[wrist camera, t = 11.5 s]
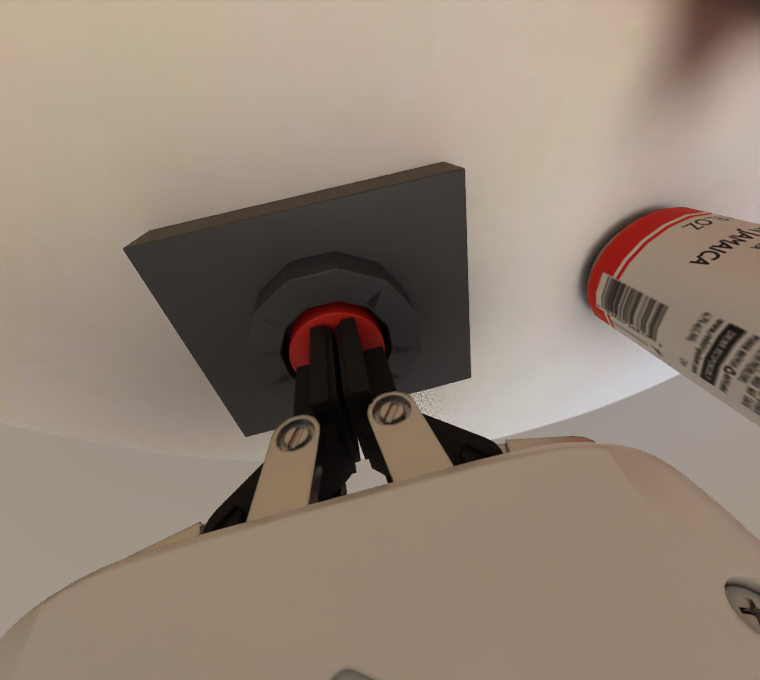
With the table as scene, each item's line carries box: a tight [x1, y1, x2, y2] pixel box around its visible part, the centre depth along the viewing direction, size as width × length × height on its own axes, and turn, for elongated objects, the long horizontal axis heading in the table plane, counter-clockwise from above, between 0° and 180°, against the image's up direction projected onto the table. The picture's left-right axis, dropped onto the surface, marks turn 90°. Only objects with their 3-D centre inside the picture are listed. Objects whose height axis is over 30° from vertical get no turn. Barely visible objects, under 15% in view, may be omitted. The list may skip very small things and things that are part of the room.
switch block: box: [123, 162, 471, 437], centre depth 14 cm, size 12×10×4 cm
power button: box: [289, 301, 385, 372], centre depth 13 cm, size 4×4×2 cm
